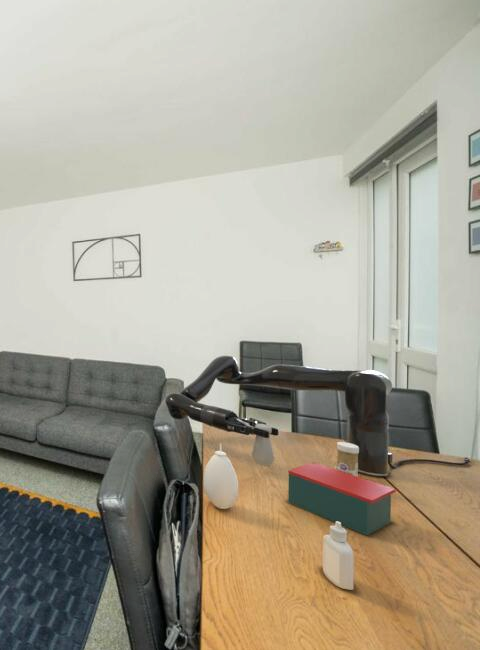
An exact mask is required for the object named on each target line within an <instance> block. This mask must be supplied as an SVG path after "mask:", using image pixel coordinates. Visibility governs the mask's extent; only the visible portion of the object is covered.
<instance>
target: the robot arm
mask: <svg viewBox="0 0 480 650" xmlns="http://www.w3.org/2000/svg"><path fill="white" fill-rule="evenodd" d="M215 381H218V382H219V383H220V384H221V383H222V384H226V385H241V386H242V385H244V386H258V387H270V388H276V389H284V390H291V391H292V390H293V391H335V392H336V391H337V392H343V393H344V407H345V410H346V442H347V443H351V444H354V445H357V446H358V447H359V453H358V474H359V473H360V474H363V475H367V476H372V477H379V478H383V477H384V478H385V477H388V476H389V467H390V468H392V469H396V468H399V467H400V466H401V465H402V464H403V463H410V462H411V463H413V462H427V463H437V464H443V465H451V466H466V465H468V464H469V461H470V459H469V458H468V457H464V461H463V462H451V461H443V460H437V459H425V458H411V459H403V460H399V461H398V462H397V463H396V464H395V465H393V464H392V463H393V453H392V452H389V424H390V423H389V422H390V416H389V413H388V412H387V395H388V394H390V392H391V391H392V389H393V383H392V380H391V379H390V378H389V377H387V376H386V375H385V374H383V373H381V372H379V371H376V370H368V369H367V370H365V369H364V370H363V369H362V370H358V369H357V370H347V369H346V370H345V369H344V370H340V369H326V368H321V367H320V368H318V367H312V366H303V365H302V366H301V365H293V364H292V365H291V364H273V365H271V366H268V367H265V368H263V369H260V370H258V371H256V372H243V371H241V370H240V367H239V363H238V361H237V359H236V358H235V357H234V356H232V355H219V356H218V357H216V358H214V359H212V361H211V362H210V363H209V364H208V365H207V366H206V367H205V369H203V370H202V372H201V373H200V374H199V375H198V376H197V378H195V379H194V380H192V382H191V383H189V384H188V385H186V386H185V387H184V388H183V389H182V390H181V391H180V393H179V392H171V393H168V394H167V395H166V396H165V398H164V401H165V402H164V403H165V405H166V407H167V410H168V413H169V415H170V417H171V418H173V419H174V420H183V419H186V418H187V417H188V418H189V419H191V420H193V421H195V422H198V423H201V424H203V425H206V426H209V427H212V428H215V429H218V430H221V431H224V432H227V433H232V432H233V433H237V434H241V435H245V436H250V435H252V436H256V435H258V436H261V437H264V438H269V435H270V436H271V435H272V436H275V437H277V436H279V429H278V428H276V427H272V426H270V427H271V429H272V432H271V433H270V434H269V431H266V430H262V429H259V428H255V425H256V424H265V425H267V423H266V422H264V421H261V420H258V419H256V418H253V417H249V419H248V418H246V417H239V416H238V414H237V413H236V412H235V411H234V410H230V409H226V408H222V407H218V406H214V405H209V404H204V403H201V402H200V401H202V400H203V399H204V398H205V397H207V395H208V394H209V393H210V391H211V390H212V387H213V386H214V383H215ZM465 459H468V460H469V461H468V460H465Z"/></svg>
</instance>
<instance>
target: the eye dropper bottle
mask: <svg viewBox="0 0 480 650" xmlns="http://www.w3.org/2000/svg"><path fill="white" fill-rule="evenodd" d="M342 526H343V525H341V523H340V522H338V521H336V522H334V525H330V526H329V534H325V535H323V539H322V571H323V574H324V576H325V577H326V578H327V579H328V580H329V581H330V582H331V583H332V584H334V585H335V586H336V587H338V588H340V589H342V590H348V591H353V590H354V589H355V588H354V586H355V585H354V583H355V579H354V578H355V555H354V551H353V549H352V547H351V546H350V544H349V543H348V542H347V541H348V531H347V530H346V528H343V527H342Z"/></svg>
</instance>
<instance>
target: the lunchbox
mask: <svg viewBox="0 0 480 650" xmlns="http://www.w3.org/2000/svg"><path fill="white" fill-rule="evenodd" d="M287 492H288V495H287V497H288V502H287V503H289V504H291V505H294V506H296V507H298V508H301V509H303V510H305V511H308V512H310V513H312V514H315V515H317V516H319V517H322V518H324V519H326V520H329V521H331V522H334V523H336V521H338V522H340V523H341V526H343V527H345V528H348V529H350V530H352V531H354V532H357V533H360V534H362V535H364V536H369V535H370V534H372V533H374V532H376V531H377V530H380V529H382V528H383V527H385V526H387V525H389V524H391V512H392V511H391V507H392V500H391V499H392V498H391V497H392V494H391V495H389V496H387V497H384V498H382V499H380V500H378V501H376V502H374V503H369V502H366V501H364V500H361V499H358V498H355V497H353V496H350V495H347V494H344V493H342V492H339V491H336V490H333V489H331V488H328V487H325V486H322V485H320V484H317V483H314V482H311V481H309V480H306V479H303V478H300V477H298V476H295V475H292V474H289V473H288V491H287Z"/></svg>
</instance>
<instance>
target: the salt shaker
mask: <svg viewBox="0 0 480 650" xmlns="http://www.w3.org/2000/svg"><path fill="white" fill-rule="evenodd" d="M271 427H272V426H271V425H268V424H266V425H265V424H256V425H255V428H259V429H262V430H266V431H269V438H264V437H261V436H258V435H255V438H254V439H255V440H254V443H253V448H252V452H251V457H252V459H253V460H254V463H255V464H256V465H259V466H261V467H271V465H272V464H273V463H275V455H274V454H275V453H274V450H273V445H272V441H271V434H270V433H271V432H272V429H271Z"/></svg>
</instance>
